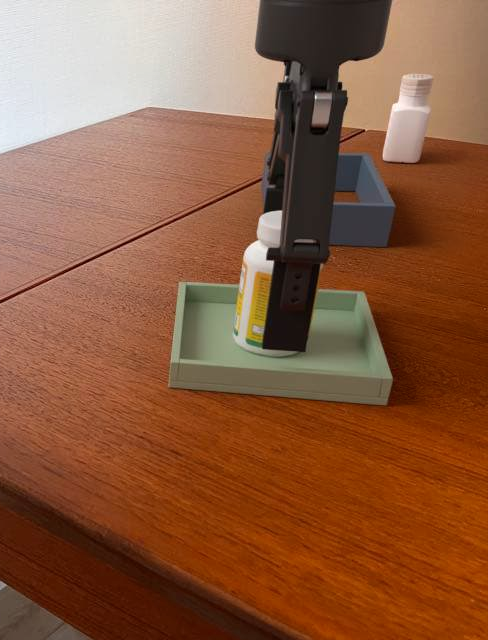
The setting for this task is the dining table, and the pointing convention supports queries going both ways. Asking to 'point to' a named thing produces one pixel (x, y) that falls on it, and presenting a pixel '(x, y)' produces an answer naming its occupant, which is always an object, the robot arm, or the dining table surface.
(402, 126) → the salt shaker
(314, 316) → the tray
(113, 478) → the dining table surface
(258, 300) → the supplement bottle
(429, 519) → the dining table surface
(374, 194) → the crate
